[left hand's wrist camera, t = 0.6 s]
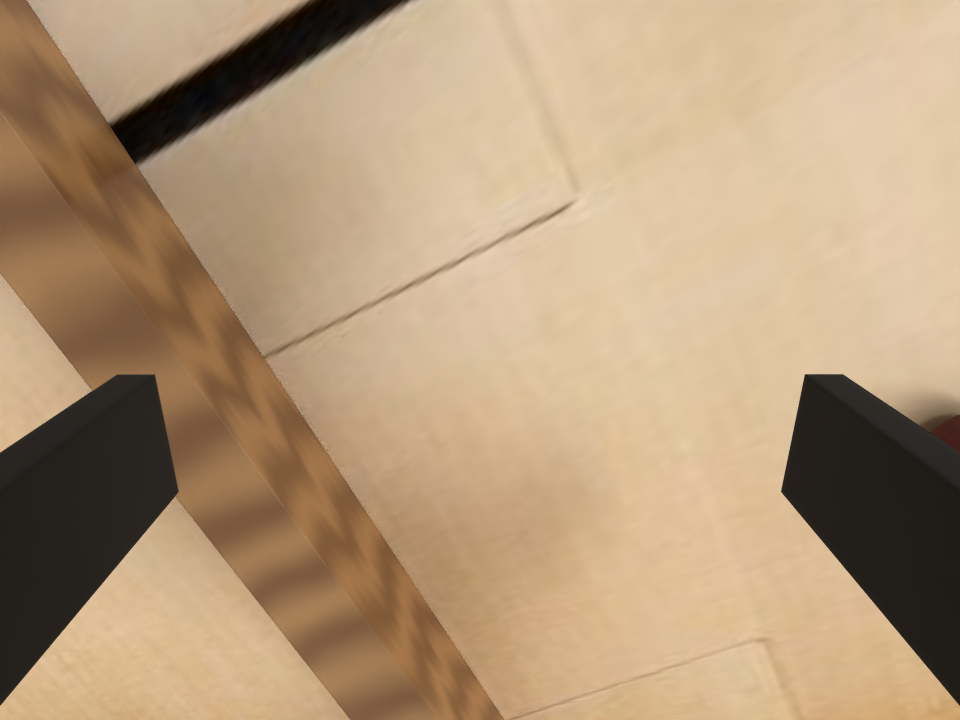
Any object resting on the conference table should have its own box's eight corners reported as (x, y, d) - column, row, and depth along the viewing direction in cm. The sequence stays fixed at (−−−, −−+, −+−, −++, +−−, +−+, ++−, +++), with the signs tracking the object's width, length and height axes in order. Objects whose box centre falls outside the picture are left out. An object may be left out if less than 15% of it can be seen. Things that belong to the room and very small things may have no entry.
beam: (-201, -168, 29) (-426, -268, 22) (-124, -227, 29) (-330, -350, 21) (493, 799, 53) (495, 904, 46) (545, 781, 52) (555, 885, 45)
